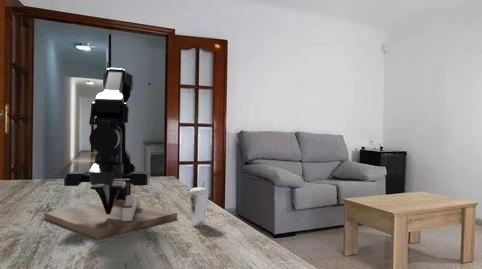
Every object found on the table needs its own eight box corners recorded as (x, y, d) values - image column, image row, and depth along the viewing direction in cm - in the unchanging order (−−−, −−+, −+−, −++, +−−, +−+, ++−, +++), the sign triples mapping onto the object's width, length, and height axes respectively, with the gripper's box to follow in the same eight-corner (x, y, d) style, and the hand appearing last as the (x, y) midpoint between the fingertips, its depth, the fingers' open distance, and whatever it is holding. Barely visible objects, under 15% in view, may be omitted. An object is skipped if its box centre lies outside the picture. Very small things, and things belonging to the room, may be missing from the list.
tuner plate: (121, 204, 105) (121, 199, 105) (177, 218, 89) (177, 212, 89) (44, 218, 87) (44, 212, 87) (97, 239, 72) (97, 231, 72)
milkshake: (212, 222, 86) (212, 182, 86) (202, 228, 81) (203, 185, 81) (195, 220, 88) (196, 181, 88) (185, 226, 83) (186, 184, 83)
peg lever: (126, 205, 94) (126, 194, 94) (140, 205, 95) (140, 194, 95) (118, 221, 79) (118, 207, 79) (135, 220, 79) (135, 206, 79)
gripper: (54, 151, 74) (54, 224, 74) (144, 152, 76) (143, 222, 77) (72, 148, 85) (72, 211, 85) (150, 149, 87) (149, 210, 88)
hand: (108, 213), depth 83 cm, fingers closed
